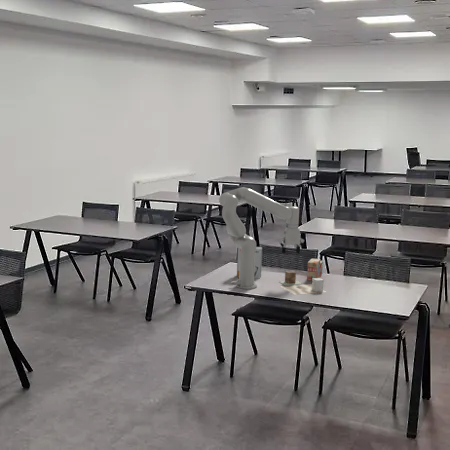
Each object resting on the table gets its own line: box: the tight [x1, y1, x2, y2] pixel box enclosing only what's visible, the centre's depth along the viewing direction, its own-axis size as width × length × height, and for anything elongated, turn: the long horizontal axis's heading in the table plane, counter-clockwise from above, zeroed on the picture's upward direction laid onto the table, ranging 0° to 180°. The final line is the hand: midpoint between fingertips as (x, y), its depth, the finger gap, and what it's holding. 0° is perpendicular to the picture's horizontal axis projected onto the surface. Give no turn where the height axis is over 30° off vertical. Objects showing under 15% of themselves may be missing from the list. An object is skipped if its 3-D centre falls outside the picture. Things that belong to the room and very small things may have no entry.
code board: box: [279, 283, 327, 296], centre depth 376 cm, size 22×20×1 cm
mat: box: [278, 280, 303, 286], centre depth 391 cm, size 12×9×1 cm
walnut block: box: [284, 270, 297, 284], centre depth 390 cm, size 5×5×7 cm
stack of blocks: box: [306, 258, 324, 281], centre depth 407 cm, size 21×6×12 cm, turn 161°
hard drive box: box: [236, 246, 263, 280], centre depth 404 cm, size 16×8×20 cm, turn 77°
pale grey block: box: [311, 277, 324, 292], centre depth 374 cm, size 5×5×7 cm
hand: (290, 253), depth 388 cm, fingers open, 9 cm apart
